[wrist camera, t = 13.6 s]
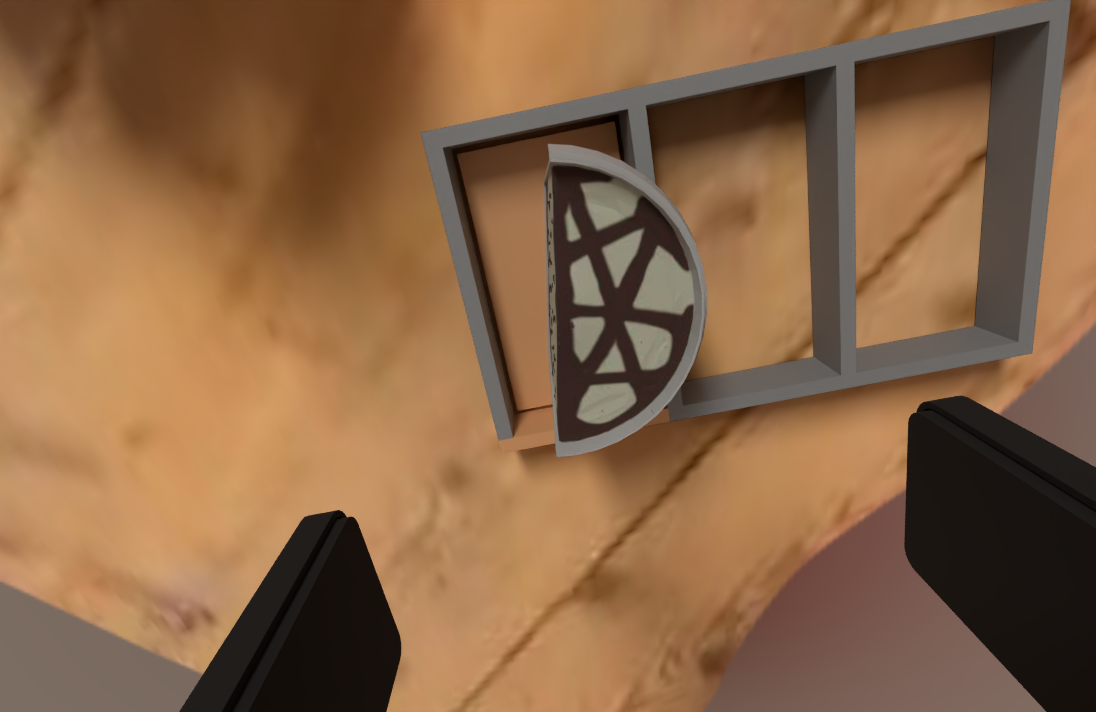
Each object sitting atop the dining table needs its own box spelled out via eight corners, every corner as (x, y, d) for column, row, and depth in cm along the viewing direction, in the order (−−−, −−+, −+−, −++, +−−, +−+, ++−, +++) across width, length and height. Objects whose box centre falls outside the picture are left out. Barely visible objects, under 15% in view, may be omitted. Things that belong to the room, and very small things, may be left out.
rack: (1013, 13, 26) (1071, -5, 24) (987, 336, 32) (1032, 353, 29) (431, 135, 27) (420, 132, 25) (504, 428, 33) (501, 453, 30)
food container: (655, 374, 32) (708, 463, 22) (548, 377, 32) (556, 469, 22) (665, 145, 28) (734, 137, 18) (542, 148, 28) (549, 142, 18)
